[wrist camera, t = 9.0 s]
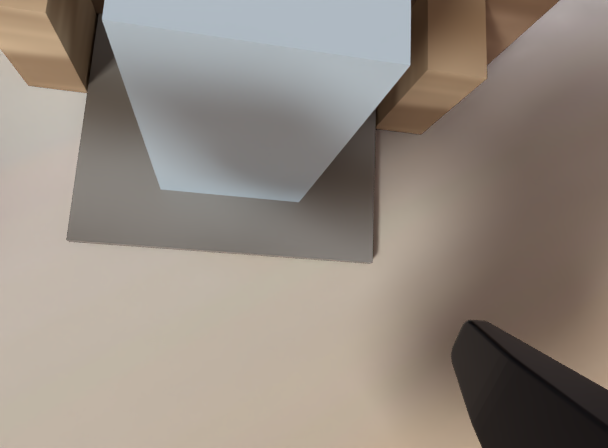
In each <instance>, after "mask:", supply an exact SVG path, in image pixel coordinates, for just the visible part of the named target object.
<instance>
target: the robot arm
mask: <svg viewBox="0 0 608 448" xmlns="http://www.w3.org/2000/svg"><path fill="white" fill-rule="evenodd" d="M451 359H452V364H453V367H454V370H455V373H456V377H457V380H458V383H459V386H460V389H461V392H462V395H463V398H464V402H465V405H466V408H467V411H468V414H469V417H470V420H471V422H472V425H473V428H474V430H475V432H476V435H477V437H478V439H479V442H480V444H481V446H482V448H608V390H607V389H605V388H603V387H602V386H600V385H598V384H596V383H595V382H593V381H591V380H589V379H588V378H586V377H584V376H582V375H580V374H579V373H577V372H575V371H573V370H572V369H570V368H568V367H566V366H565V365H563V364H561V363H559V362H558V361H556V360H554V359H552V358H551V357H549V356H547V355H545V354H543V353H542V352H540V351H538V350H536V349H535V348H533V347H531V346H529V345H528V344H526V343H524V342H522V341H521V340H519V339H517V338H515V337H514V336H512V335H510V334H508V333H506V332H505V331H503V330H501V329H499V328H498V327H496V326H494V325H492V324H491V323H489V322H486V321H481V320H468V321H466V322H465V323H464V324H463V326H462V328H461V330H460V332H459V335H458V337H457V339H456V341H455V343H454V345H453V348H452V352H451Z"/></svg>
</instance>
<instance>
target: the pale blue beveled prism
mask: <svg viewBox="0 0 608 448" xmlns="http://www.w3.org/2000/svg"><path fill="white" fill-rule="evenodd" d="M102 22H103V24H104V27H105V30H106V33H107V36H108V39H109V42H110V45H111V48H112V50H113V53H114V56H115V59H116V62H117V65H118V68H119V71H120V73H121V76H122V79H123V82H124V85H125V88H126V91H127V94H128V97H129V99H130V102H131V105H132V108H133V111H134V114H135V117H136V120H137V123H138V125H139V128H140V131H141V134H142V137H143V140H144V143H145V146H146V148H147V151H148V154H149V157H150V160H151V163H152V166H153V169H154V172H155V174H156V177H157V180H158V183H159V186H160V189H161V190H172V191H183V192H194V193H204V194H215V195H226V196H237V197H247V198H258V199H269V200H280V201H291V202H300V200H301V199H302V198H303V197H304V195H305V194H306V193H307V192H308V190H309V189H310V188H311V187H312V186H313V184H314V183H315V182H316V181H317V179H318V178H319V177H320V176H321V175H322V173H323V172H324V171H325V170H326V168H327V167H328V166H329V165H330V164H331V162H332V161H333V160H334V159H335V157H336V156H337V155H338V154H339V152H340V151H341V150H342V149H343V148H344V146H345V145H346V144H347V143H348V141H349V140H350V139H351V138H352V137H353V135H354V134H355V133H356V132H357V130H358V129H359V128H360V127H361V125H362V124H363V123H364V122H365V121H366V119H367V118H368V117H369V116H370V114H371V113H372V112H373V111H374V110H375V108H376V107H377V106H378V105H379V103H380V102H381V101H382V100H383V99H384V97H385V96H386V95H387V94H388V92H389V91H390V90H391V89H392V87H393V86H394V85H395V84H396V83H397V81H398V80H399V79H400V78H401V76H402V75H403V74H404V73H405V72H406V70H407V69H408V68H409V67H410V57H411V0H105V1H104V8H103V15H102Z"/></svg>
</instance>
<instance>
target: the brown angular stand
mask: <svg viewBox="0 0 608 448" xmlns="http://www.w3.org/2000/svg"><path fill="white" fill-rule="evenodd" d="M104 1H105V0H0V49H1V50H2V52H3V53H4V54H5V55H6V57H7V58H8V59H9V61H10V62H11V63H12V65H13V66H14V67H15V69H16V70H17V71H18V73H19V74H20V75H21V76H22V78H23V79H24V80H25V82H26V83H27V84H28V86H35V87H43V88H51V89H59V90H67V91H75V92H83V93H87V98H86V105H85V112H84V119H83V126H82V133H81V140H80V147H79V154H78V161H77V168H76V175H75V182H74V189H73V196H72V203H71V210H70V217H69V224H68V231H67V238H66V240H67V241H69V242H82V243H96V244H109V245H123V246H136V247H150V248H164V249H177V250H191V251H205V252H218V253H232V254H245V255H259V256H273V257H286V258H300V259H314V260H327V261H341V262H355V263H368V264H369V263H372V260H373V216H374V173H375V129H382V130H390V131H398V132H406V133H414V134H422V133H423V132H424V131H426V130H427V129H428V128H429V127H430V126H431V125H433V124H434V123H435V122H436V121H437V120H439V119H440V118H441V117H442V116H443V115H444V114H446V113H447V112H448V111H449V110H450V109H452V108H453V107H454V106H455V105H456V104H457V103H459V102H460V101H461V100H462V99H463V98H465V97H466V96H467V95H468V94H469V93H470V92H472V91H473V90H474V89H475V88H476V87H478V86H479V85H480V84H481V83H482V82H483V81H485V80H486V79H487V65H488V64H489V63H490V62H491V61H492V60H493V59H495V58H496V57H497V56H498V55H499V54H500V53H501V52H502V51H504V50H505V49H506V48H507V47H508V46H509V45H510V44H511V43H512V42H514V41H515V40H516V39H517V38H518V37H519V36H520V35H521V34H523V33H524V32H525V31H526V30H527V29H528V28H529V27H530V26H532V25H533V24H534V23H535V22H536V21H537V20H538V19H539V18H540V17H542V16H543V15H544V14H545V13H546V12H547V11H548V10H549V9H551V8H552V7H553V6H554V5H555V4H556V3H557V2H558V1H559V0H411V57H410V67H409V68H408V69H407V70H406V72H405V73H404V74H403V75H402V76H401V78H400V79H399V80H398V81H397V83H396V84H395V85H394V86H393V87H392V89H391V90H390V91H389V92H388V94H387V95H386V96H385V97H384V99H383V100H382V101H381V102H380V103H379V105H378V106H377V107H376V108H375V110H374V111H373V112H372V113H371V114H370V116H369V117H368V118H367V119H366V121H365V122H364V123H363V124H362V125H361V127H360V128H359V129H358V130H357V132H356V133H355V134H354V135H353V137H352V138H351V139H350V140H349V141H348V143H347V144H346V145H345V146H344V148H343V149H342V150H341V151H340V152H339V154H338V155H337V156H336V157H335V159H334V160H333V161H332V162H331V164H330V165H329V166H328V167H327V168H326V170H325V171H324V172H323V173H322V175H321V176H320V177H319V178H318V179H317V181H316V182H315V183H314V184H313V186H312V187H311V188H310V189H309V190H308V192H307V193H306V194H305V195H304V197H303V198H302V199H301V200H300V202H291V201H280V200H269V199H258V198H247V197H237V196H226V195H215V194H204V193H194V192H183V191H172V190H161V189H160V186H159V183H158V180H157V177H156V174H155V172H154V169H153V166H152V163H151V160H150V157H149V154H148V151H147V148H146V146H145V143H144V140H143V137H142V134H141V131H140V128H139V125H138V123H137V120H136V117H135V114H134V111H133V108H132V105H131V102H130V99H129V97H128V94H127V91H126V88H125V85H124V82H123V79H122V76H121V73H120V71H119V68H118V65H117V62H116V59H115V56H114V53H113V50H112V48H111V45H110V42H109V39H108V36H107V33H106V30H105V27H104V24H103V22H102V15H103V8H104Z"/></svg>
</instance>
